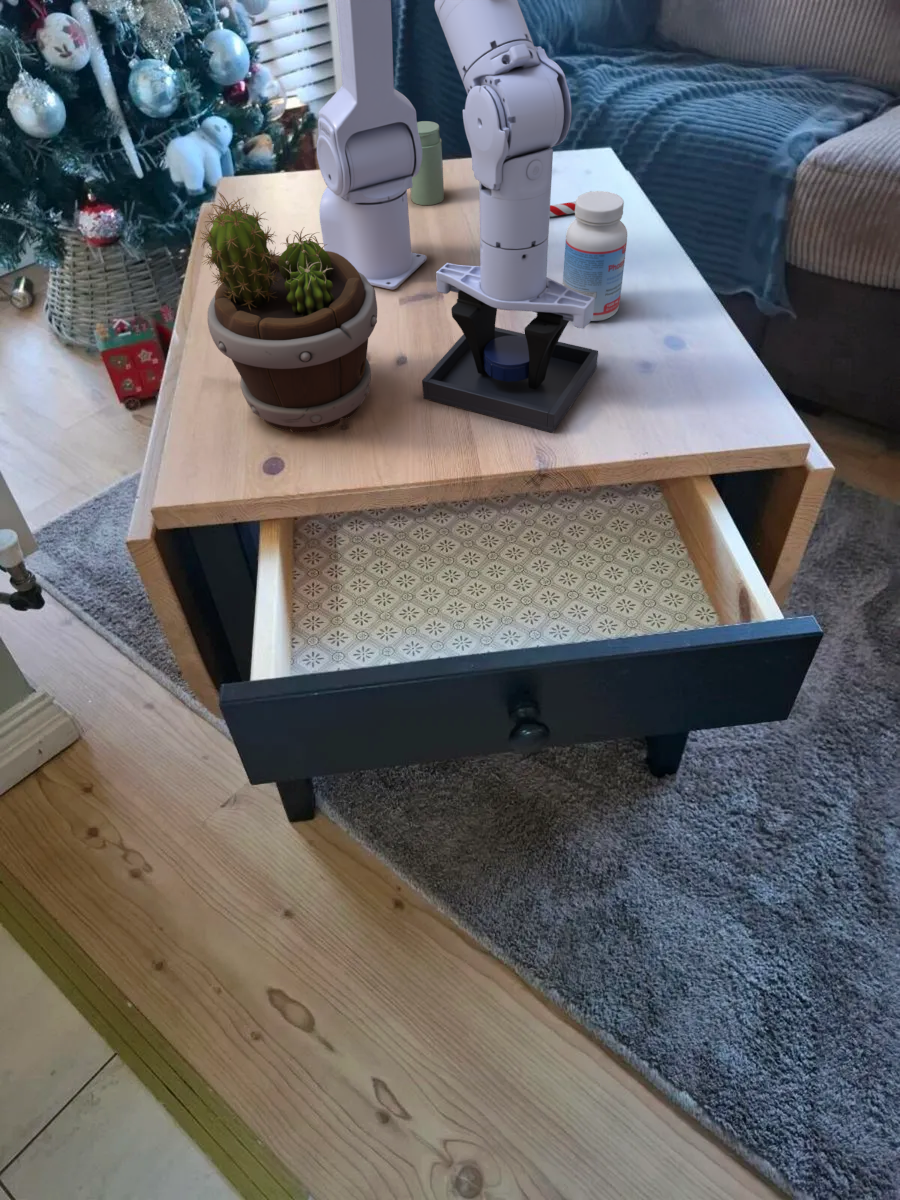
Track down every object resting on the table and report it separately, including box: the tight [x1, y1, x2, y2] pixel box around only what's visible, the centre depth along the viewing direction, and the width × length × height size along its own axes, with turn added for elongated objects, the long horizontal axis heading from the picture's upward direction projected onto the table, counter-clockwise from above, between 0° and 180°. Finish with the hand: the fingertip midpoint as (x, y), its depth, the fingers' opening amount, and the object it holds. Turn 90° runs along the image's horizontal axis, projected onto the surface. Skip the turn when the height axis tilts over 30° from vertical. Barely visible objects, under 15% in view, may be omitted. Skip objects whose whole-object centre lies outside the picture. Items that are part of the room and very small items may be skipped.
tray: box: [421, 326, 599, 433], centre depth 80 cm, size 13×11×2 cm
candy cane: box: [550, 200, 576, 218], centre depth 106 cm, size 8×1×15 cm
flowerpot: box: [196, 191, 378, 434], centre depth 72 cm, size 14×15×20 cm
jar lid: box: [484, 336, 529, 382], centre depth 78 cm, size 5×5×2 cm
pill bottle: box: [561, 190, 628, 322], centre depth 85 cm, size 6×6×11 cm
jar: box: [409, 120, 445, 206], centre depth 106 cm, size 4×4×9 cm
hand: (511, 376), depth 80 cm, fingers closed on jar lid, 5 cm apart
